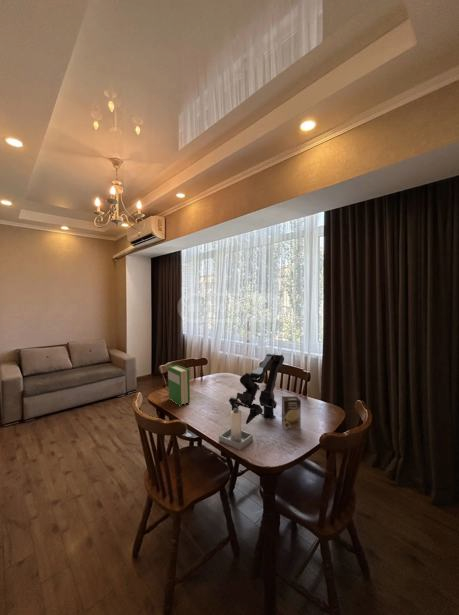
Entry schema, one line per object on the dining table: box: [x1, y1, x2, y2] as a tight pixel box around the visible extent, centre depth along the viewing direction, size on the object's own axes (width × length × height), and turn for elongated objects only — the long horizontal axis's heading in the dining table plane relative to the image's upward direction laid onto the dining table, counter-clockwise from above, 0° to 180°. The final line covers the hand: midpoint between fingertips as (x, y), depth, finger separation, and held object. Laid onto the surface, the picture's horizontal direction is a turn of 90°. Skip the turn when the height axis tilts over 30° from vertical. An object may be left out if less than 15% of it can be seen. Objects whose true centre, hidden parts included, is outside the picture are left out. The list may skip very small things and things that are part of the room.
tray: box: [218, 427, 254, 452], centre depth 126 cm, size 11×13×3 cm
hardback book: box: [167, 364, 191, 407], centre depth 176 cm, size 18×7×24 cm, turn 39°
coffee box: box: [281, 395, 302, 430], centre depth 138 cm, size 9×6×16 cm
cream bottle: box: [229, 407, 242, 443], centre depth 126 cm, size 5×5×16 cm
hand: (238, 421), depth 128 cm, fingers open, 9 cm apart
